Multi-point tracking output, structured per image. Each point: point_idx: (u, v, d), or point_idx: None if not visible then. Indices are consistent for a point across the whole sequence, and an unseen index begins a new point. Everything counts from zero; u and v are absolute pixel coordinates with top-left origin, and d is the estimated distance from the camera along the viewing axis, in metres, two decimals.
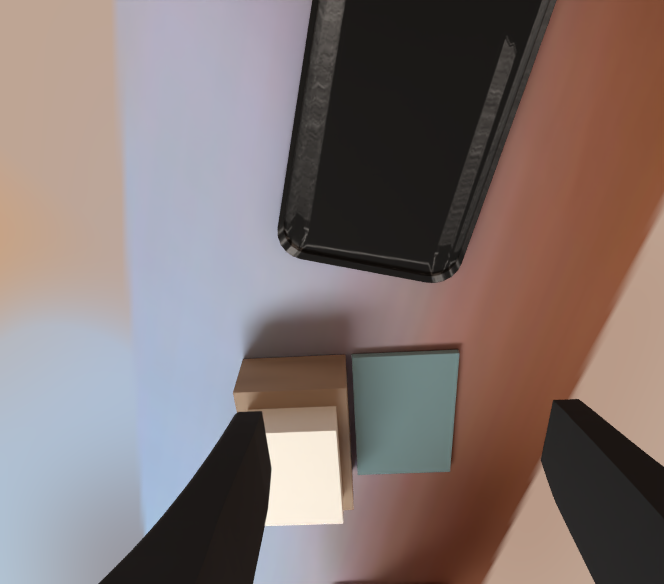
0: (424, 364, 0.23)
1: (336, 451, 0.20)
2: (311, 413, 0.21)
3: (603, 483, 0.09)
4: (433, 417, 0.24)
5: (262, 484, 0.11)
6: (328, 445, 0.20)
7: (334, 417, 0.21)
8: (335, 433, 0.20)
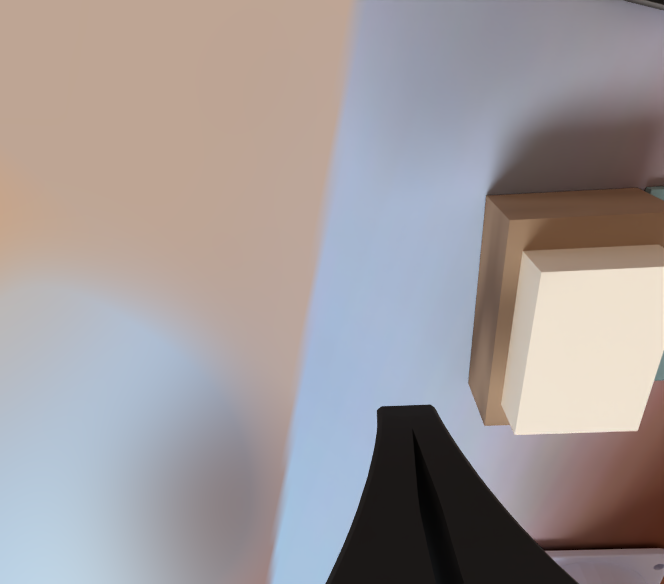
0: None
1: None
2: (628, 251, 0.14)
3: (425, 488, 0.10)
4: None
5: None
6: None
7: None
8: None
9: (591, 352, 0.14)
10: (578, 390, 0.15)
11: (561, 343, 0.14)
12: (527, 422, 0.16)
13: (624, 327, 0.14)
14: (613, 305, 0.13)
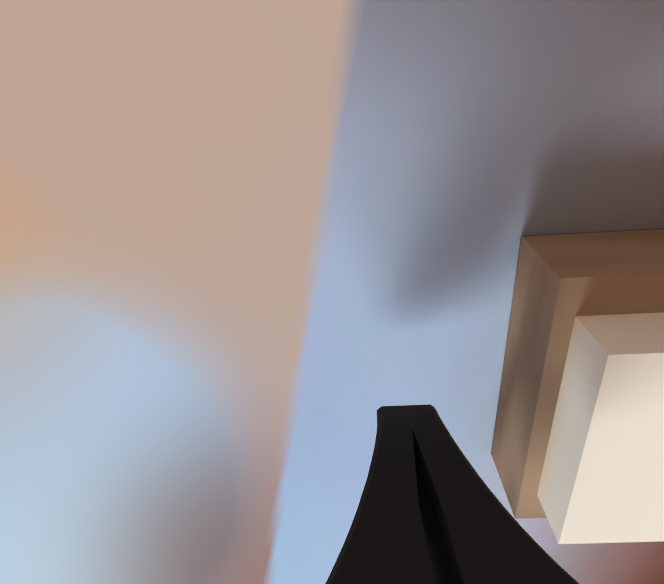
0: None
1: None
2: None
3: (425, 488, 0.10)
4: None
5: None
6: None
7: None
8: None
9: None
10: (645, 494, 0.11)
11: (628, 440, 0.11)
12: (576, 530, 0.12)
13: None
14: None
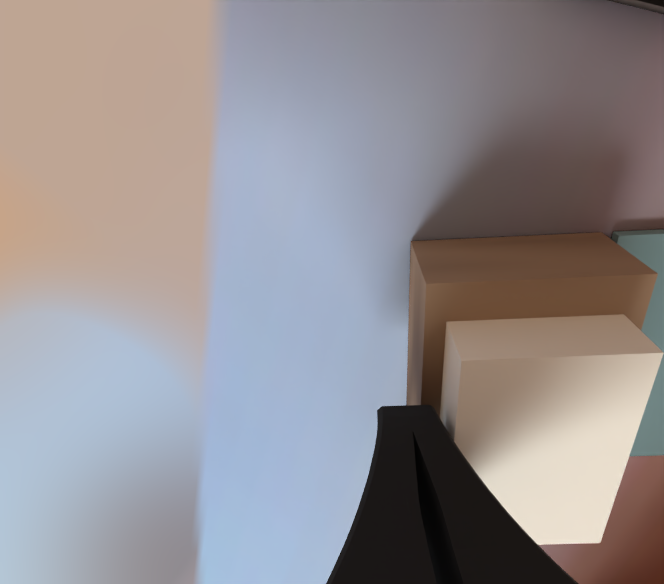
0: None
1: (645, 399, 0.10)
2: (583, 325, 0.10)
3: (425, 488, 0.10)
4: None
5: None
6: (634, 386, 0.10)
7: (637, 331, 0.10)
8: (657, 359, 0.10)
9: (535, 455, 0.11)
10: (521, 498, 0.12)
11: (495, 445, 0.11)
12: None
13: (577, 426, 0.10)
14: (561, 400, 0.10)
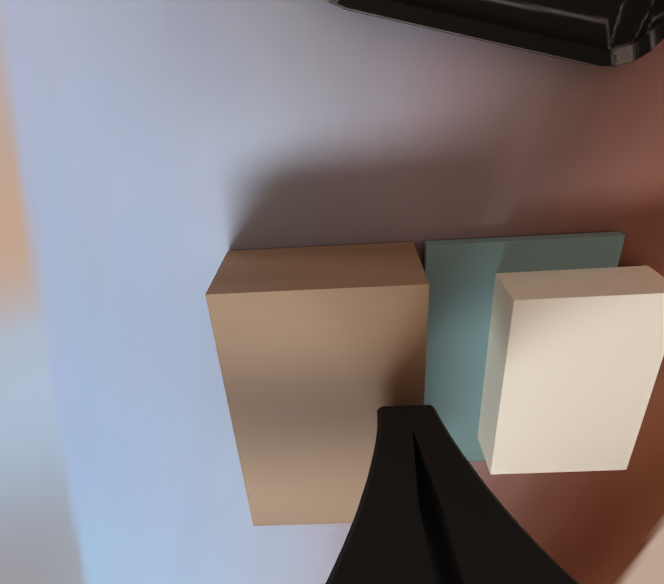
0: (557, 259, 0.13)
1: (493, 312, 0.13)
2: (552, 289, 0.12)
3: (425, 488, 0.10)
4: None
5: None
6: None
7: (507, 287, 0.12)
8: (496, 281, 0.13)
9: None
10: None
11: None
12: None
13: None
14: None
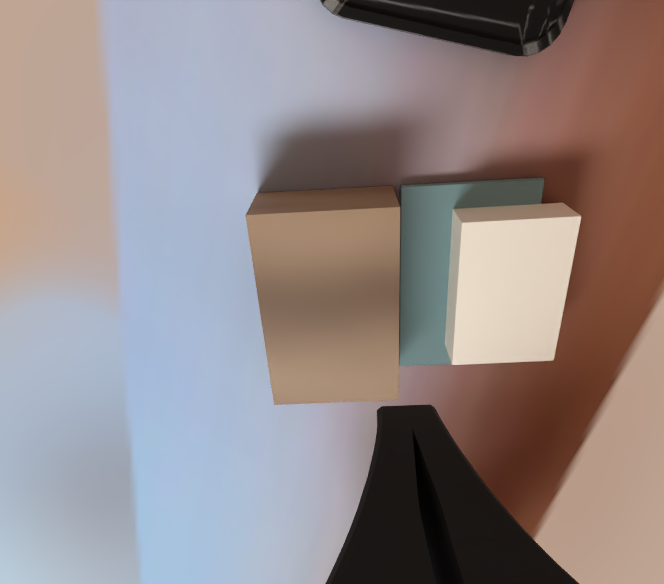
0: (496, 197, 0.17)
1: (452, 239, 0.18)
2: (490, 216, 0.17)
3: (425, 488, 0.10)
4: None
5: None
6: None
7: (459, 216, 0.17)
8: (453, 215, 0.18)
9: None
10: None
11: None
12: None
13: None
14: None
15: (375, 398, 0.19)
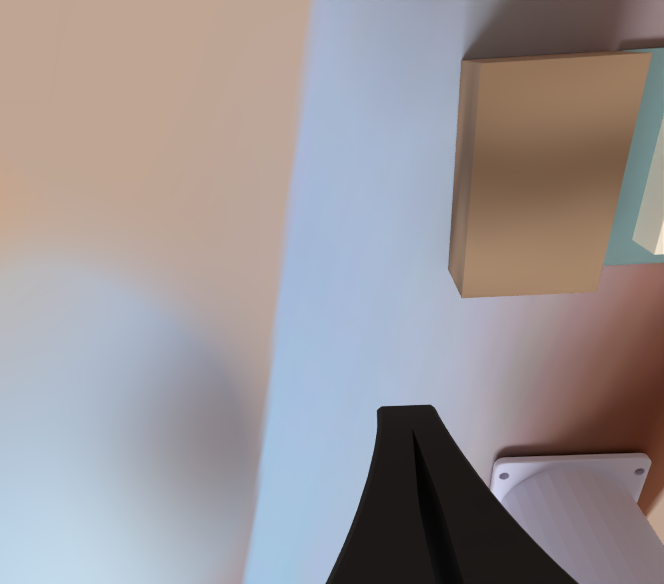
0: None
1: None
2: None
3: (425, 489, 0.10)
4: None
5: None
6: None
7: None
8: None
9: None
10: None
11: None
12: None
13: None
14: None
15: (570, 291, 0.18)
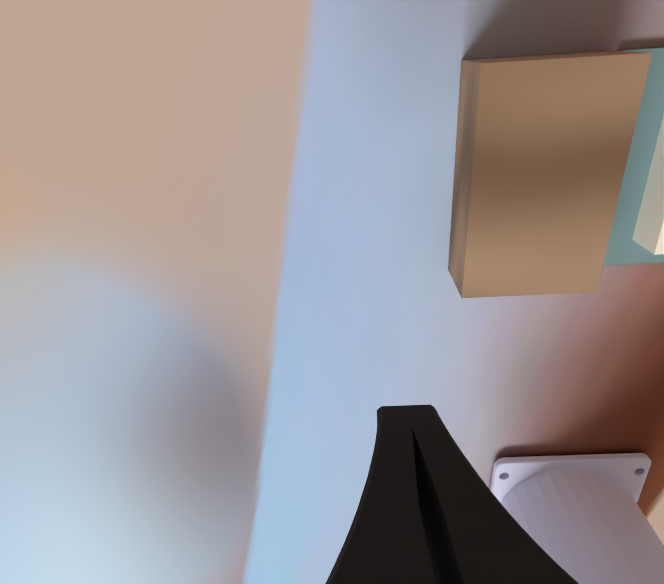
0: None
1: None
2: None
3: (425, 489, 0.10)
4: None
5: None
6: None
7: None
8: None
9: None
10: None
11: None
12: None
13: None
14: None
15: (570, 291, 0.18)
